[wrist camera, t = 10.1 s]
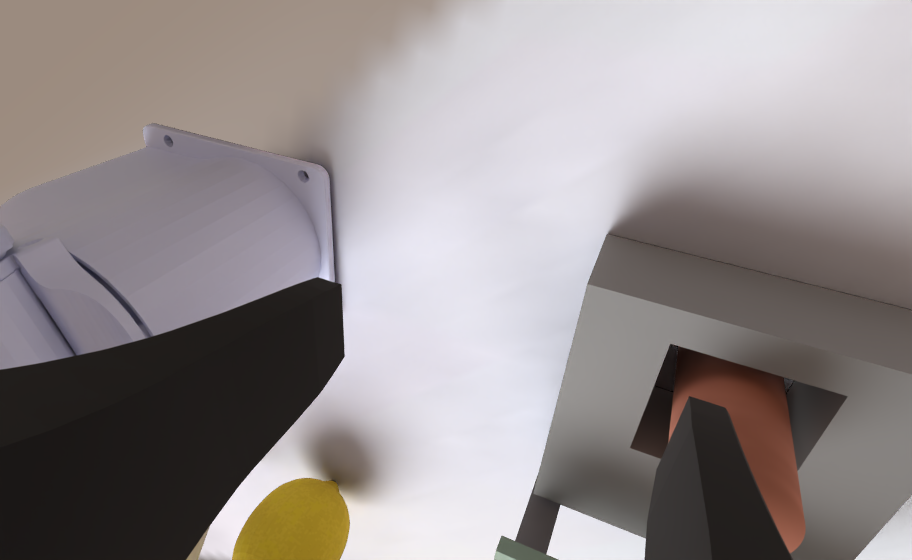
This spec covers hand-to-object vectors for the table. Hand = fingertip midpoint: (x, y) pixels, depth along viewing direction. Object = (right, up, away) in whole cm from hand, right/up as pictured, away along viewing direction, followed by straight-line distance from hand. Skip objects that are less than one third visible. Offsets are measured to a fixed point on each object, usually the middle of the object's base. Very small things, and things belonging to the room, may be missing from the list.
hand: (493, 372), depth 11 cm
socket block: (+9, -3, +10) cm, 13 cm away
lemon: (-8, -11, +23) cm, 26 cm away
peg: (+9, -1, +8) cm, 12 cm away
